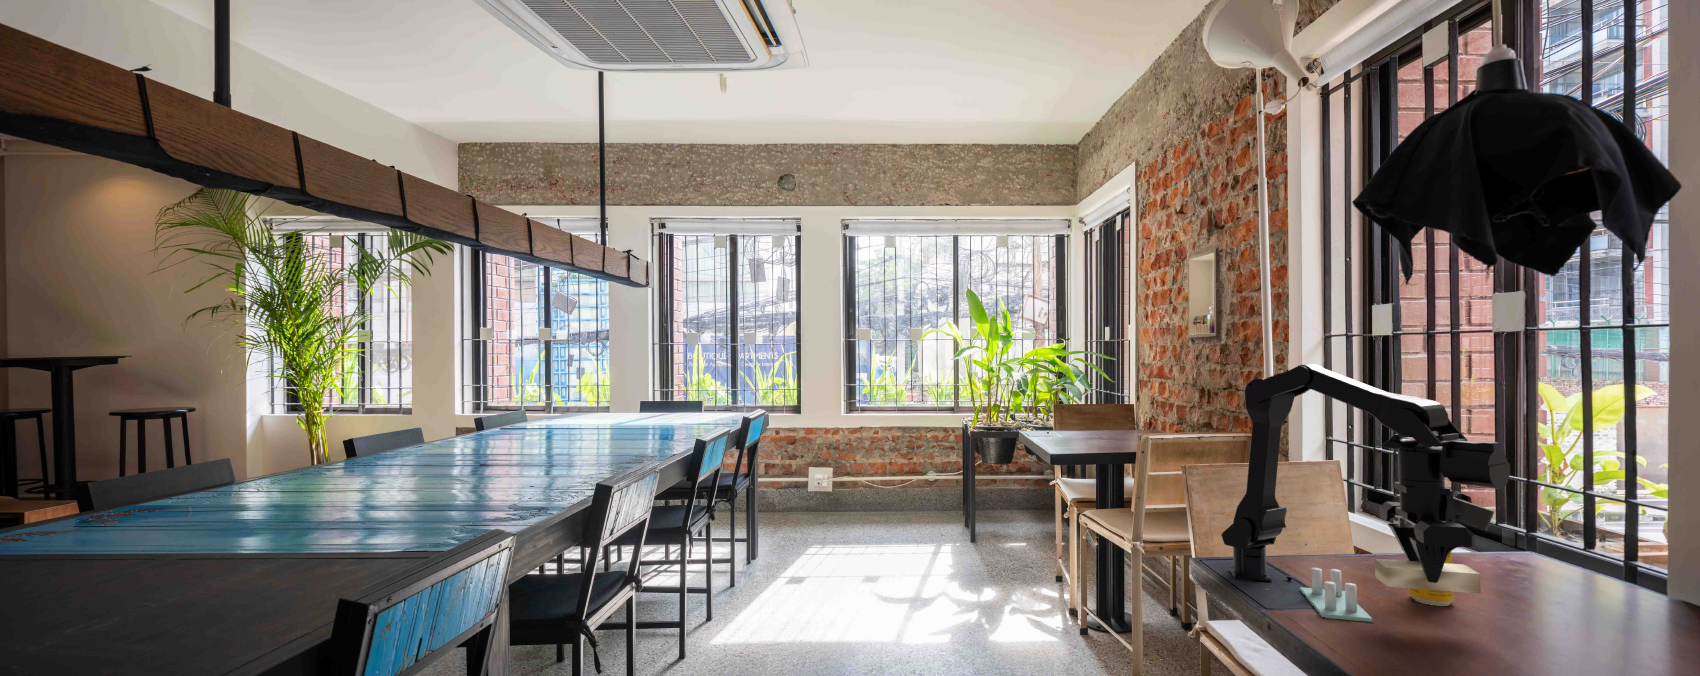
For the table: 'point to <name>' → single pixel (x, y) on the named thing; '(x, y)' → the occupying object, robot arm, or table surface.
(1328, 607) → the peg stand
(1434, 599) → the beer can
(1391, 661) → the table surface
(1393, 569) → the board
